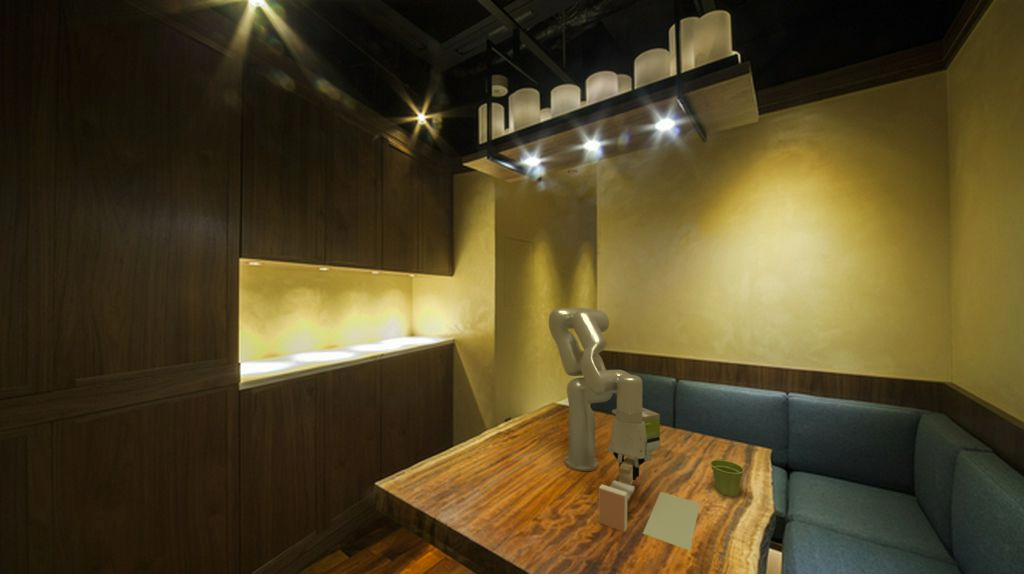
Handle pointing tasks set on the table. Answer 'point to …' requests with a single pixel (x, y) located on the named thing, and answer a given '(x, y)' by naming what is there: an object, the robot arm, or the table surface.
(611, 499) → the tile
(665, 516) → the board
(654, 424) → the tea box
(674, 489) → the table surface
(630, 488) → the turner
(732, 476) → the plant pot
